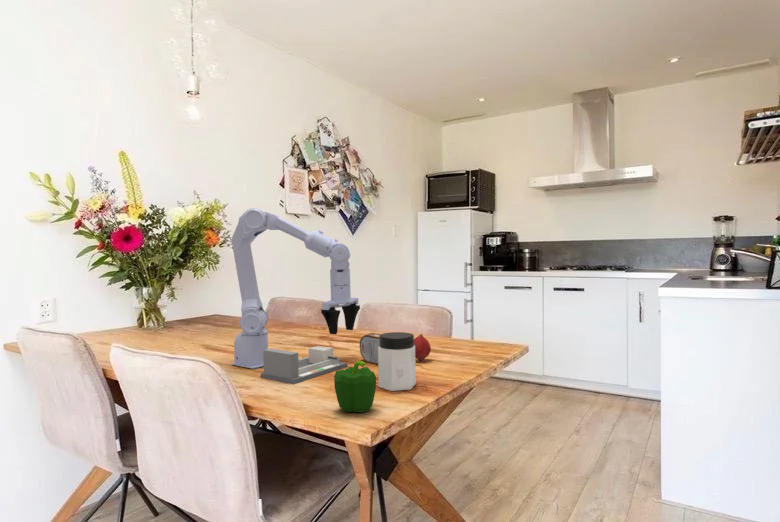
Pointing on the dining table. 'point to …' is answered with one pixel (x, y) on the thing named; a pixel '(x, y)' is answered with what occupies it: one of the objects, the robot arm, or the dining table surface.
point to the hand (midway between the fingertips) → (341, 331)
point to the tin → (370, 347)
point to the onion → (421, 347)
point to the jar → (396, 361)
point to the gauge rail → (295, 366)
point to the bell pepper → (355, 388)
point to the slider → (320, 354)
